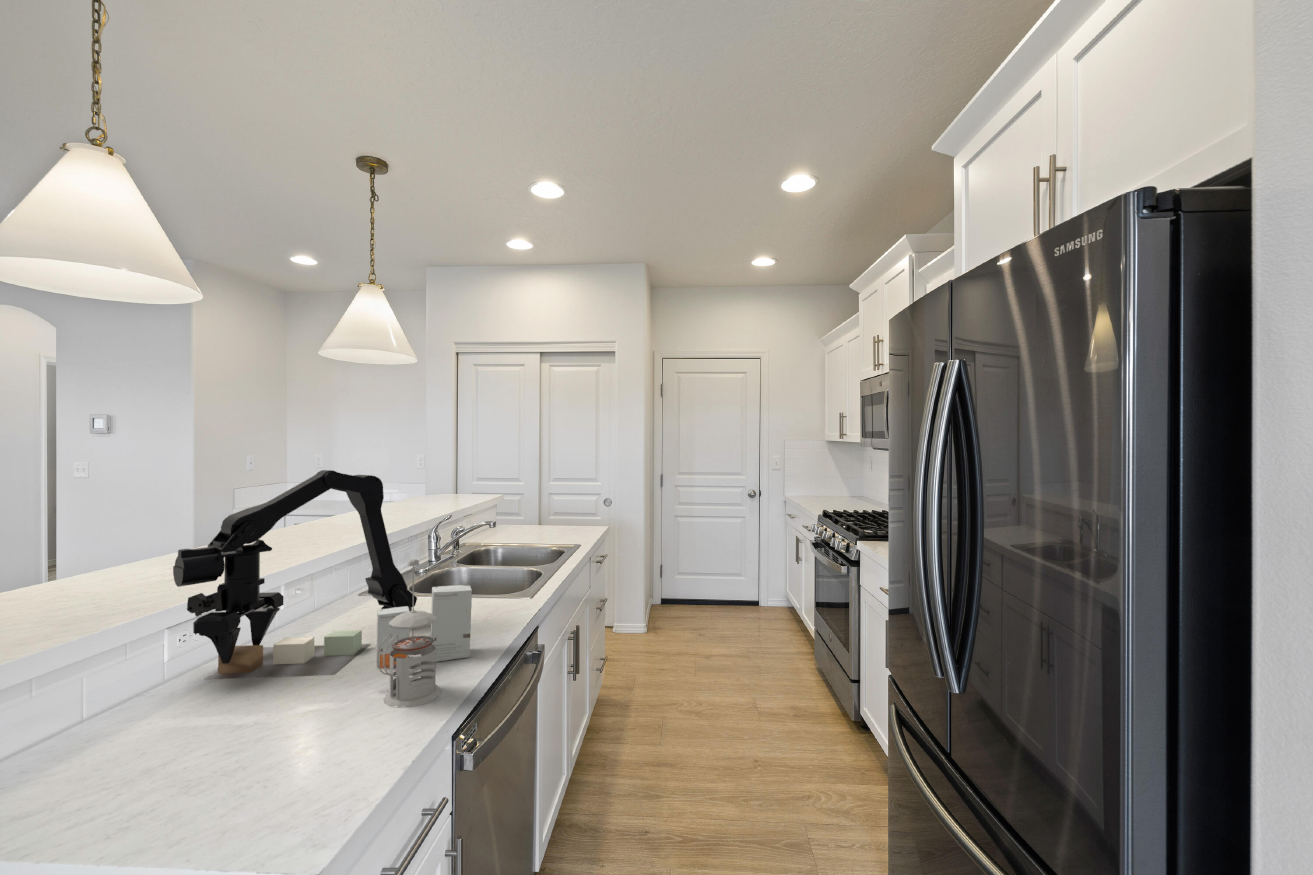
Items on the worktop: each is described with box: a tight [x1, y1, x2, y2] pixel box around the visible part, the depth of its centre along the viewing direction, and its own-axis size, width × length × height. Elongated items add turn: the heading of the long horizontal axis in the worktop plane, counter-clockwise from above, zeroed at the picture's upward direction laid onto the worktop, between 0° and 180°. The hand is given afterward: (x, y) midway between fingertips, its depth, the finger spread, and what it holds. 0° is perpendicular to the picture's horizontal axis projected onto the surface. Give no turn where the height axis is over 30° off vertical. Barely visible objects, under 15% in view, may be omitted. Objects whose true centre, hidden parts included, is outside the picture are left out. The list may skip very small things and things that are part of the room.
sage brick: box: [323, 629, 363, 656], centre depth 121 cm, size 6×4×4 cm, turn 95°
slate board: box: [204, 643, 372, 680], centre depth 117 cm, size 24×17×1 cm
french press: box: [376, 558, 442, 708], centre depth 102 cm, size 10×12×25 cm
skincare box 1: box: [376, 606, 410, 669], centre depth 116 cm, size 6×4×12 cm
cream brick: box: [272, 636, 315, 664], centre depth 117 cm, size 6×4×4 cm, turn 95°
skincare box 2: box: [430, 584, 473, 663], centre depth 122 cm, size 8×6×15 cm
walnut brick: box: [217, 644, 264, 674], centre depth 112 cm, size 6×4×4 cm, turn 95°
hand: (241, 654), depth 112 cm, fingers open, 9 cm apart
